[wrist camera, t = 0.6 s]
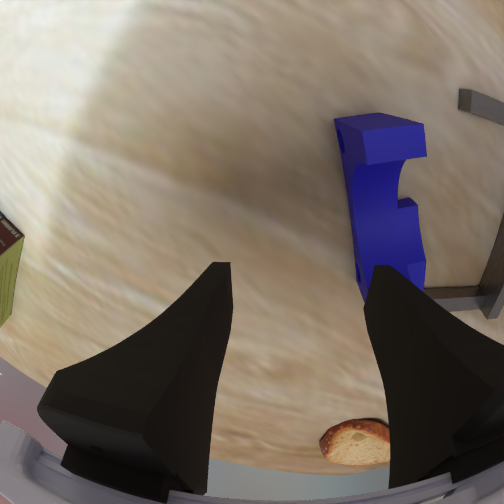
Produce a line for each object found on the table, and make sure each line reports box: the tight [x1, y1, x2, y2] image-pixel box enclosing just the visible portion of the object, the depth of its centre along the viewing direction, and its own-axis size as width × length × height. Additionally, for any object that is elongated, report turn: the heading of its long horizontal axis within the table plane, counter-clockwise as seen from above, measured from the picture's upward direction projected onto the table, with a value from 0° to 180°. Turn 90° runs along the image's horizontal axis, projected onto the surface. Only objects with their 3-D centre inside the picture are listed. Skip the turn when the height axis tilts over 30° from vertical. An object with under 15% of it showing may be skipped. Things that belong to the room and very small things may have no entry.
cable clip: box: [334, 113, 427, 303], centre depth 16 cm, size 12×4×6 cm, turn 15°
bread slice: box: [320, 419, 390, 465], centre depth 36 cm, size 18×18×4 cm
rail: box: [423, 89, 504, 319], centre depth 16 cm, size 8×18×3 cm, turn 1°
